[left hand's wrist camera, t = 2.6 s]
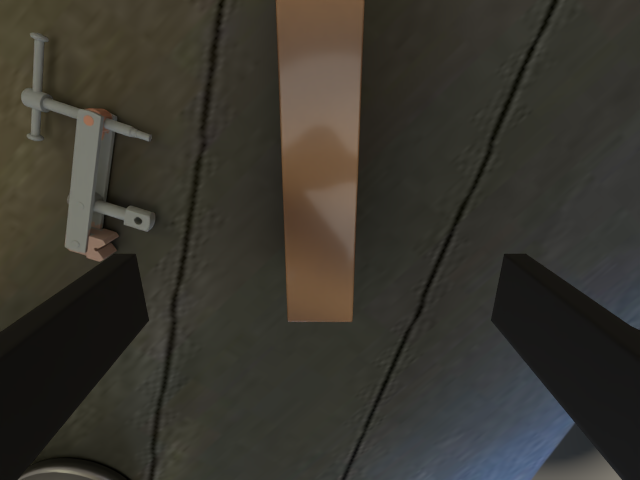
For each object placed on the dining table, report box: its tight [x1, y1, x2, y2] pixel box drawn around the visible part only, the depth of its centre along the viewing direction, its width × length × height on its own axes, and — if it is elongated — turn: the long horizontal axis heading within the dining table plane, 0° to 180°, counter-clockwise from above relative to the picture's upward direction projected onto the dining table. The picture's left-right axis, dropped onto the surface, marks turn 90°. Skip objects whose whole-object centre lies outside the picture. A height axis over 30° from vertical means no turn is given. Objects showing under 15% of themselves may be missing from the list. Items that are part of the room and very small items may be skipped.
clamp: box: [21, 33, 155, 262], centre depth 26 cm, size 15×2×10 cm
